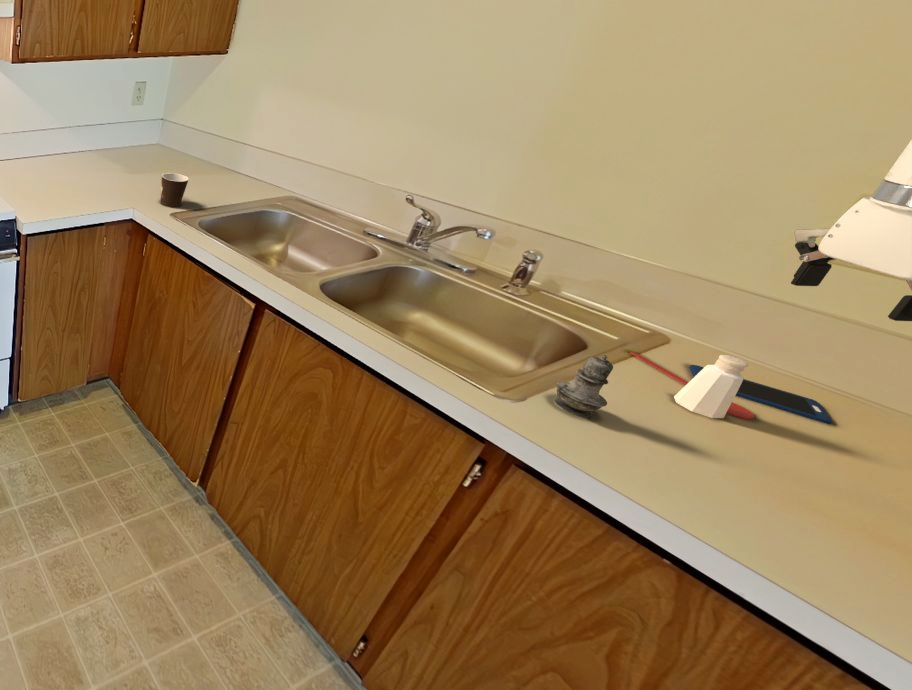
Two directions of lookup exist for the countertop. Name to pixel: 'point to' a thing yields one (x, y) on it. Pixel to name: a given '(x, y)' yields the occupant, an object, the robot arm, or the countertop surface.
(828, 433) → the countertop surface
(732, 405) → the spoon
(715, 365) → the pepper shaker
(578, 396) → the grey chess piece
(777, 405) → the cell phone
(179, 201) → the coffee mug
